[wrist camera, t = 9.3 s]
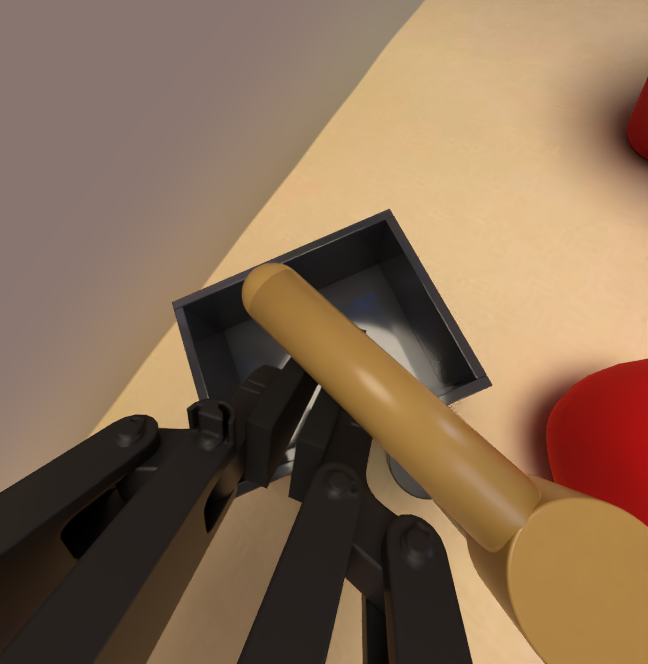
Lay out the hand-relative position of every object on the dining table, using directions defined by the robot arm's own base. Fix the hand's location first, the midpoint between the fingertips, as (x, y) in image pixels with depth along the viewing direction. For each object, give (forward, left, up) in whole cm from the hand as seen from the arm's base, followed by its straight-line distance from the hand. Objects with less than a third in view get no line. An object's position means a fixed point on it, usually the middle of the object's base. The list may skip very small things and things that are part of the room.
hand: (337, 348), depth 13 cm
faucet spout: (+4, +1, +3) cm, 5 cm away
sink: (-2, -1, -10) cm, 10 cm away
